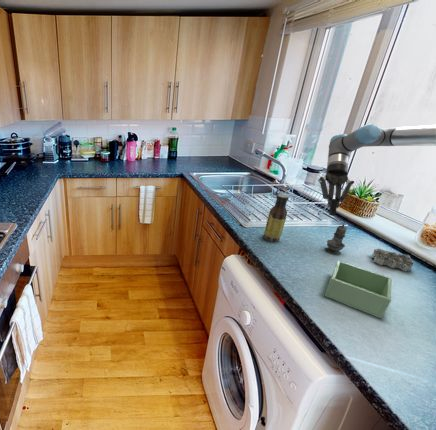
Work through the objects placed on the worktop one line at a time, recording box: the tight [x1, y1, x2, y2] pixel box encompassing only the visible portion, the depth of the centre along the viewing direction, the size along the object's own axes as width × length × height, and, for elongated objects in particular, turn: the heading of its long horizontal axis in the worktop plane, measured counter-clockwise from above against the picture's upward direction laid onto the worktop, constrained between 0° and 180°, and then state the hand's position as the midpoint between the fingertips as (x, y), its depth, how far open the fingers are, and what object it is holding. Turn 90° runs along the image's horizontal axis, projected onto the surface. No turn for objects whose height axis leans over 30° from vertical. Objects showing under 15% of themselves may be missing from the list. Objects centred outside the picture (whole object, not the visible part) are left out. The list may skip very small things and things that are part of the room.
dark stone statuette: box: [324, 223, 348, 256], centre depth 111 cm, size 6×6×12 cm
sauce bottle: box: [263, 193, 289, 243], centre depth 117 cm, size 6×6×20 cm
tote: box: [323, 260, 393, 319], centre depth 88 cm, size 14×14×7 cm
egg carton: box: [371, 248, 415, 272], centre depth 105 cm, size 11×8×4 cm
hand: (332, 214), depth 122 cm, fingers closed
